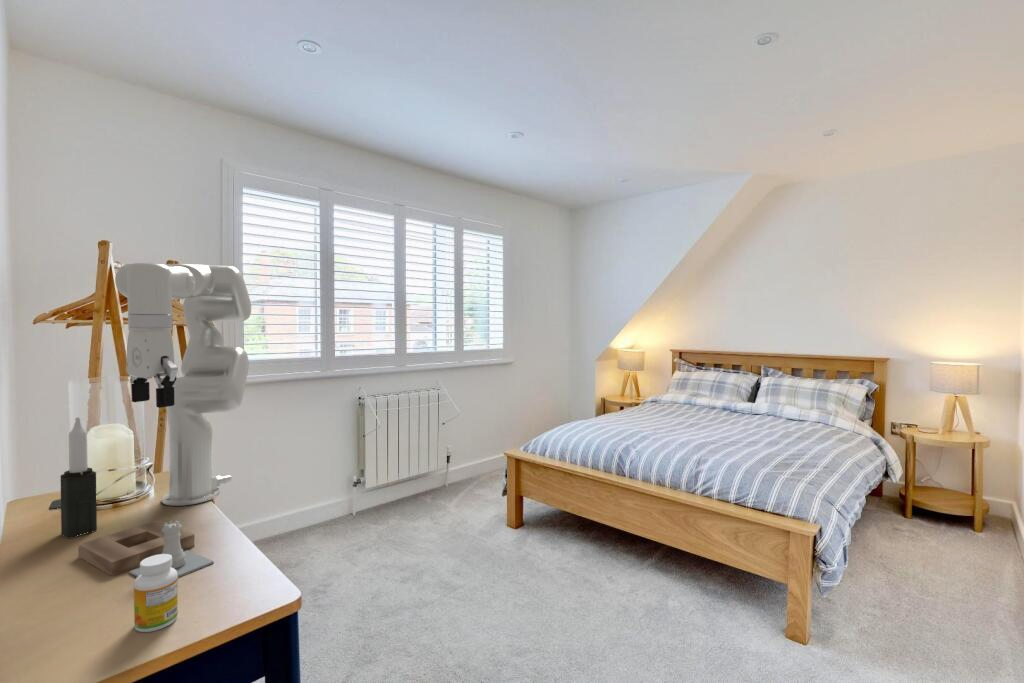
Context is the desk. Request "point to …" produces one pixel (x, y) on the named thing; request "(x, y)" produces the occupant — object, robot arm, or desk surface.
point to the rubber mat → (186, 564)
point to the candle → (78, 488)
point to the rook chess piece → (173, 543)
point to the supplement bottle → (155, 594)
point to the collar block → (128, 547)
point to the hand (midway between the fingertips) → (152, 403)
